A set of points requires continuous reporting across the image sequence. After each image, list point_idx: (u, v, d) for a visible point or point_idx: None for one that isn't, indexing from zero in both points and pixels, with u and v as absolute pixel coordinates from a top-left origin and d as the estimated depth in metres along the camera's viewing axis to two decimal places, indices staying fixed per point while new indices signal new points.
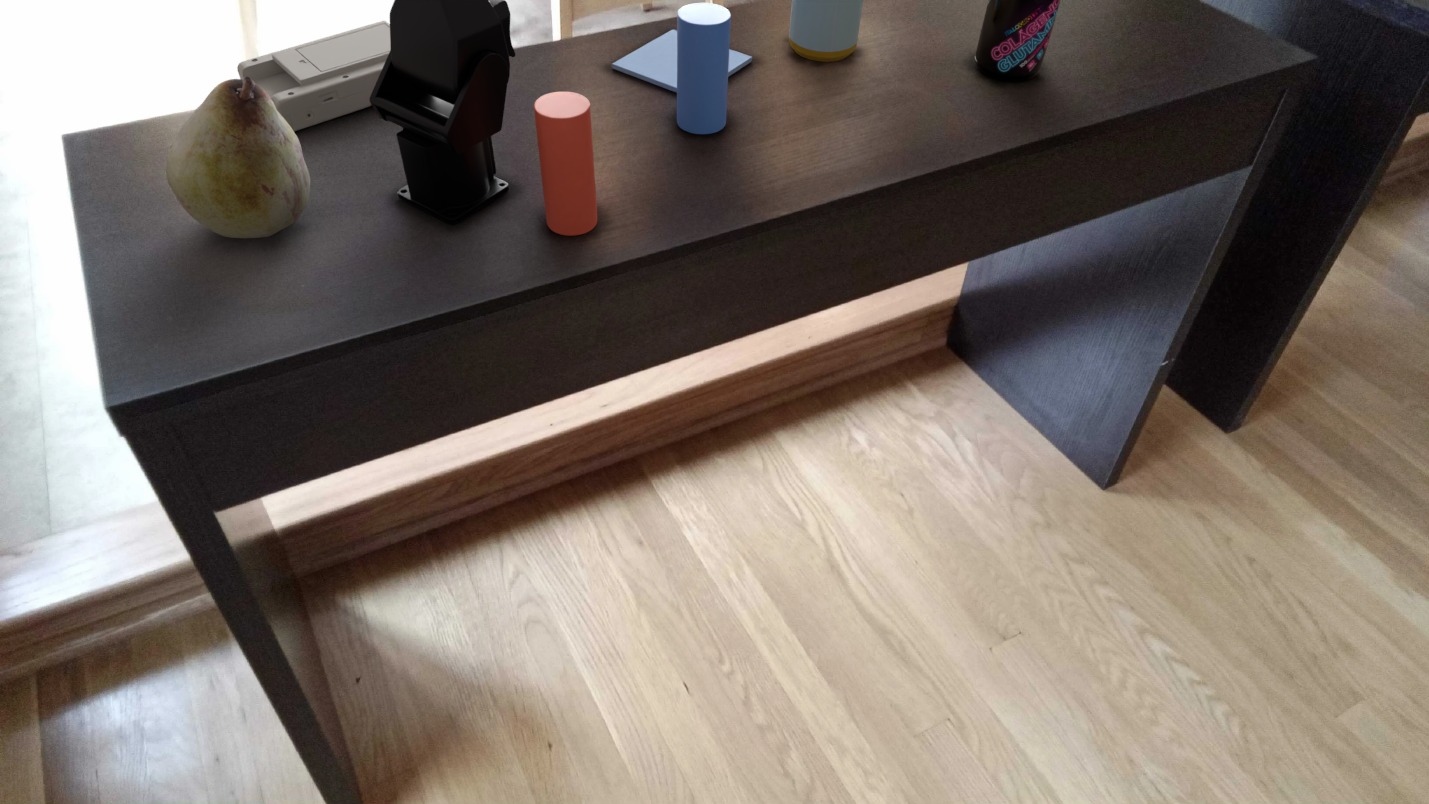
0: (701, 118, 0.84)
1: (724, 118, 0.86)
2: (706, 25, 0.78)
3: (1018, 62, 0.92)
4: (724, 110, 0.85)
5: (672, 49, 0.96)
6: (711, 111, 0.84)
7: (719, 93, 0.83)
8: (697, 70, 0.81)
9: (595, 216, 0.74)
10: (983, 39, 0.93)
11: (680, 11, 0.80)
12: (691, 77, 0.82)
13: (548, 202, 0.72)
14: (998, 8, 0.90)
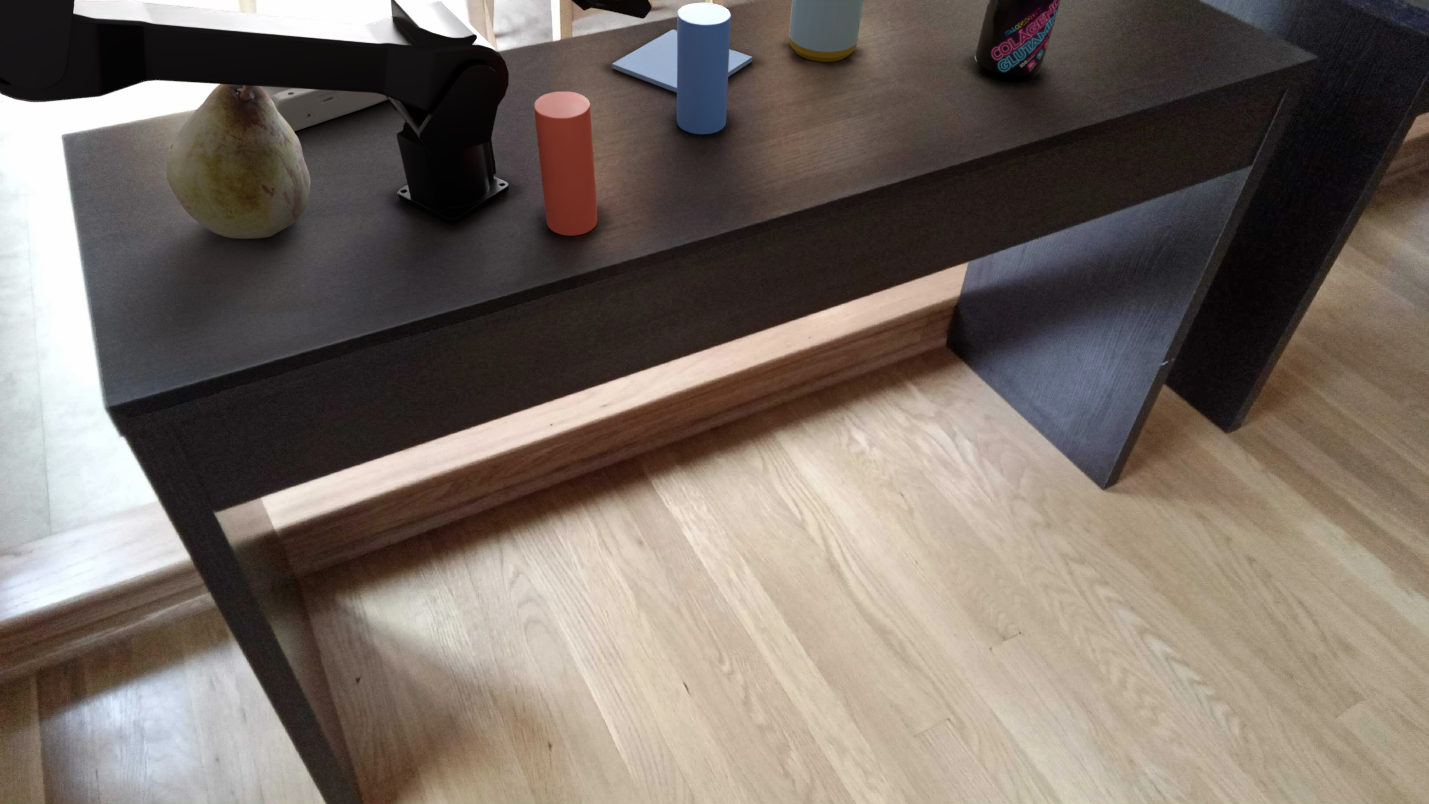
0: (701, 118, 0.84)
1: (724, 118, 0.86)
2: (706, 25, 0.78)
3: (1018, 62, 0.92)
4: (724, 110, 0.85)
5: (672, 49, 0.96)
6: (711, 111, 0.84)
7: (719, 93, 0.83)
8: (697, 70, 0.81)
9: (595, 216, 0.74)
10: (983, 39, 0.93)
11: (680, 11, 0.80)
12: (691, 77, 0.82)
13: (548, 202, 0.72)
14: (998, 8, 0.90)
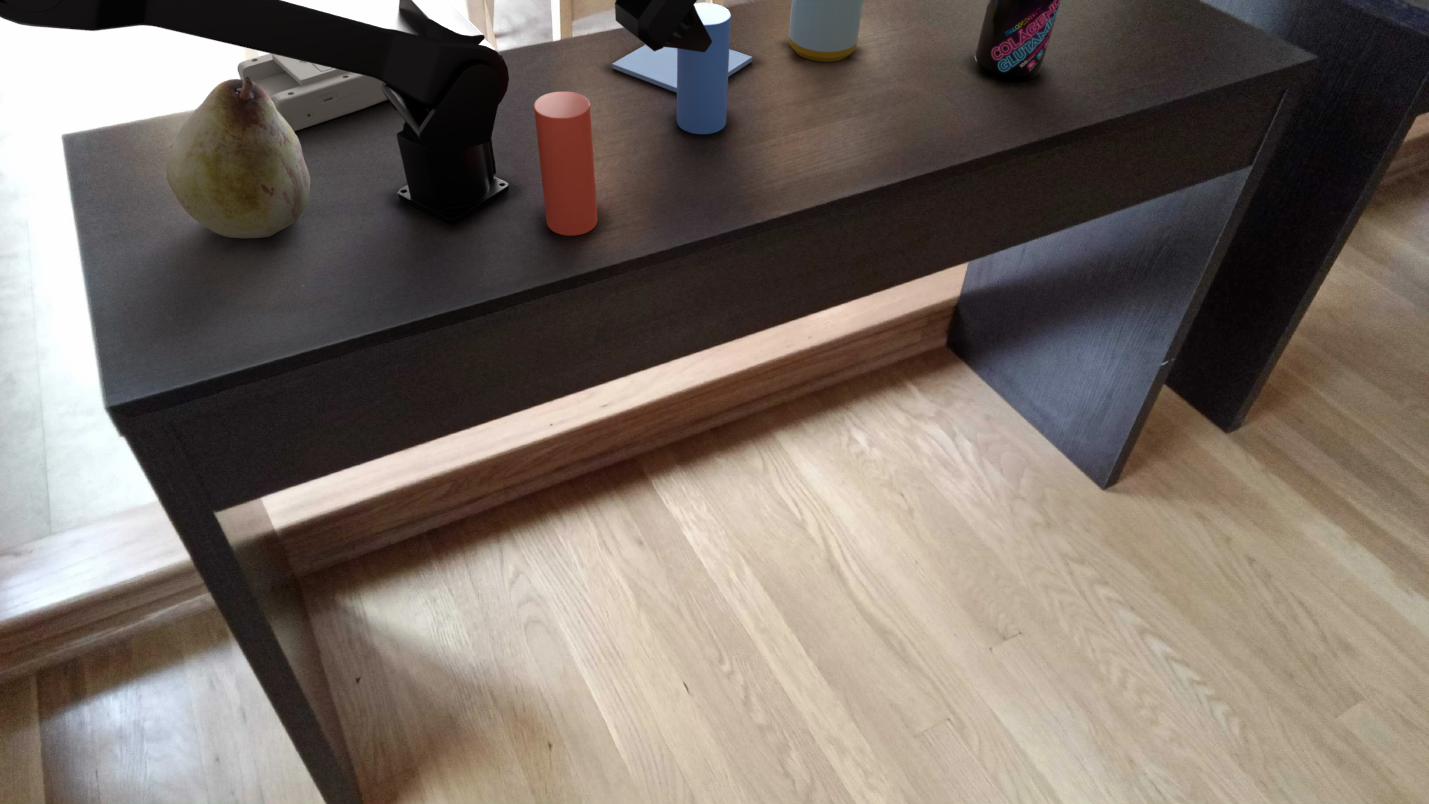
0: (701, 118, 0.84)
1: (724, 118, 0.86)
2: (706, 25, 0.78)
3: (1018, 62, 0.92)
4: (724, 110, 0.85)
5: (672, 49, 0.96)
6: (711, 111, 0.84)
7: (719, 93, 0.83)
8: (697, 70, 0.81)
9: (595, 216, 0.74)
10: (983, 39, 0.93)
11: None
12: (691, 77, 0.82)
13: (548, 202, 0.72)
14: (998, 8, 0.90)
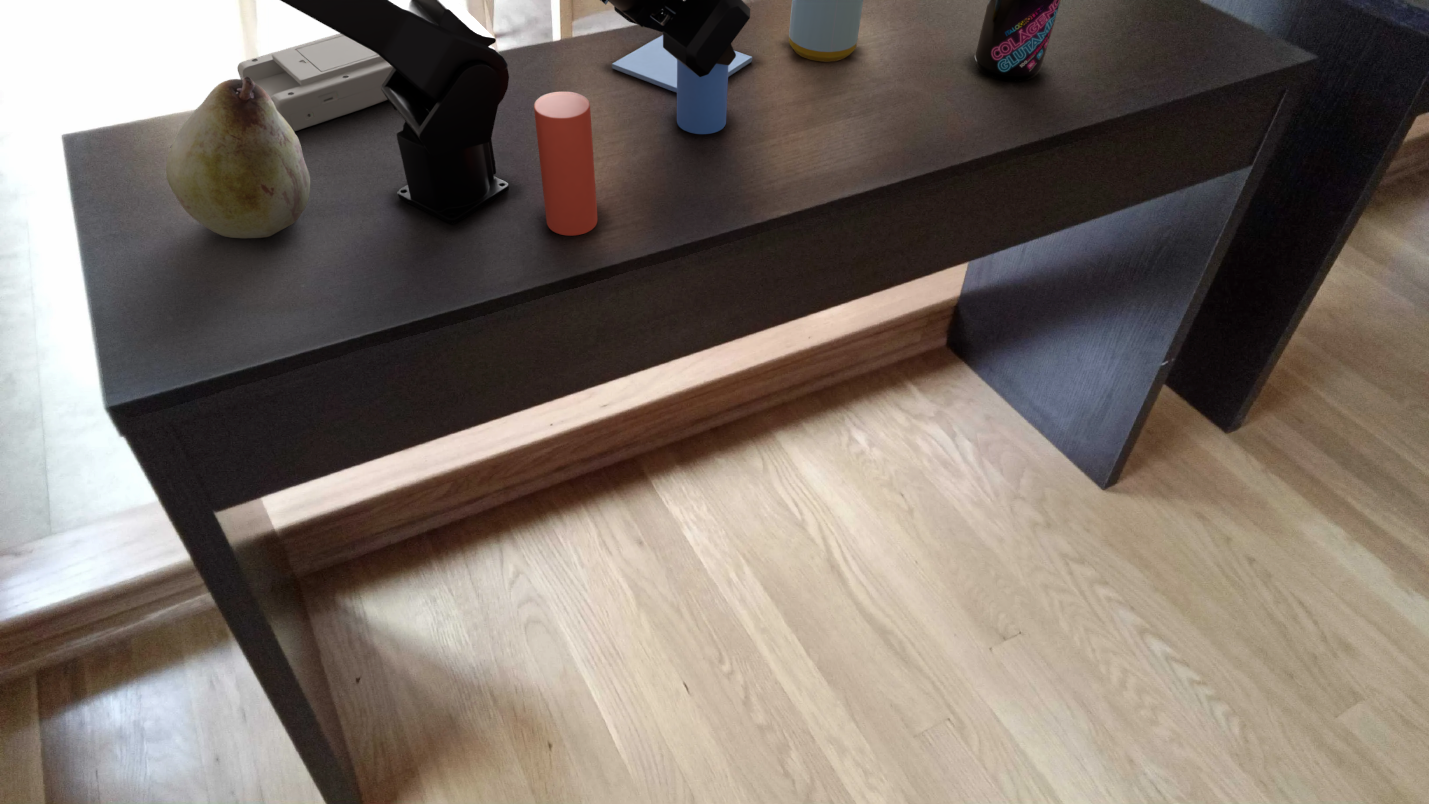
0: (701, 118, 0.84)
1: (724, 118, 0.86)
2: None
3: (1018, 62, 0.92)
4: (724, 110, 0.85)
5: None
6: (711, 111, 0.84)
7: (719, 93, 0.83)
8: None
9: (595, 216, 0.74)
10: (983, 39, 0.93)
11: None
12: (691, 77, 0.82)
13: (548, 202, 0.72)
14: (998, 8, 0.90)
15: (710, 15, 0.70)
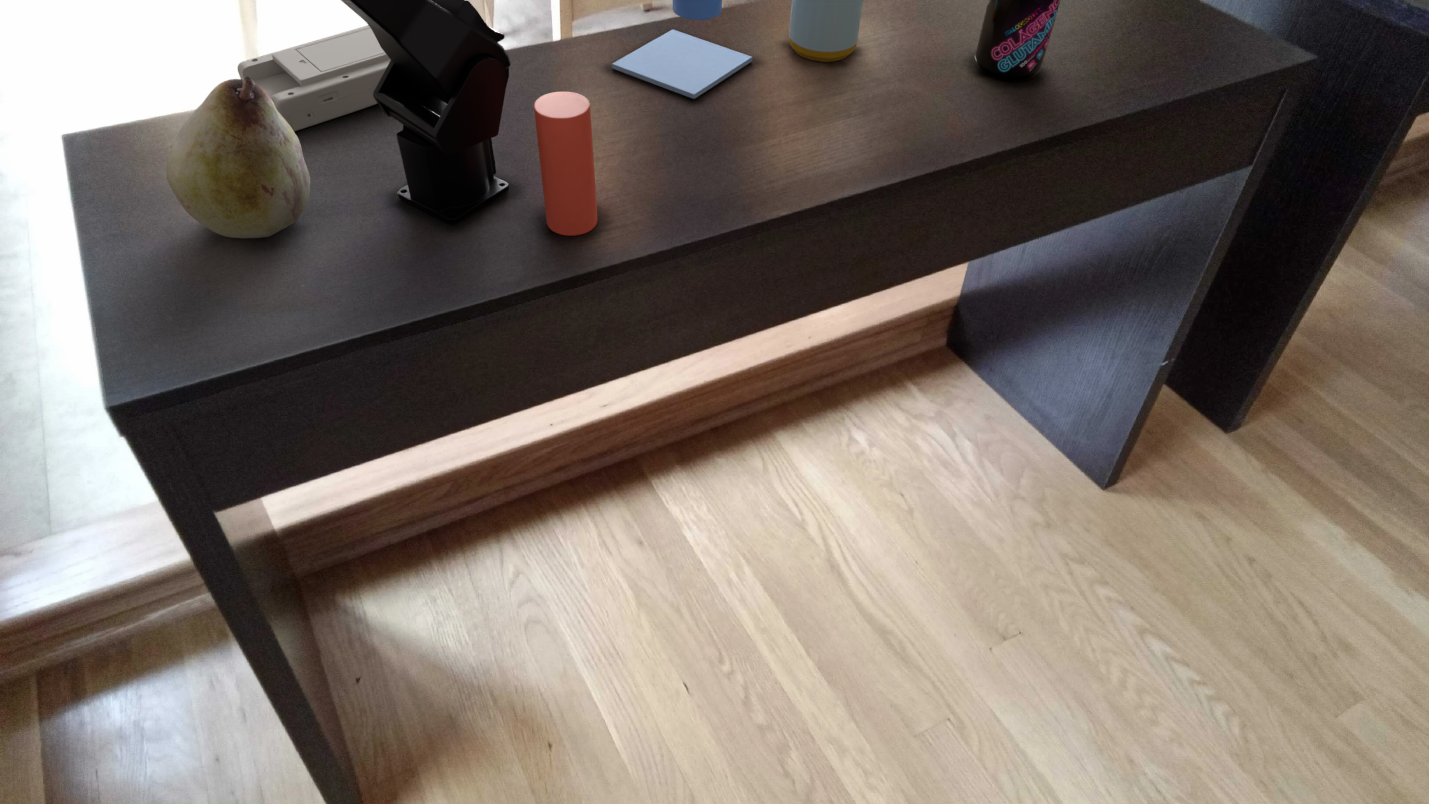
0: (703, 2, 0.84)
1: (721, 2, 0.86)
2: None
3: (1018, 62, 0.92)
4: None
5: (672, 49, 0.96)
6: None
7: None
8: None
9: (595, 216, 0.74)
10: (983, 39, 0.93)
11: None
12: None
13: (548, 202, 0.72)
14: (998, 8, 0.90)
15: None
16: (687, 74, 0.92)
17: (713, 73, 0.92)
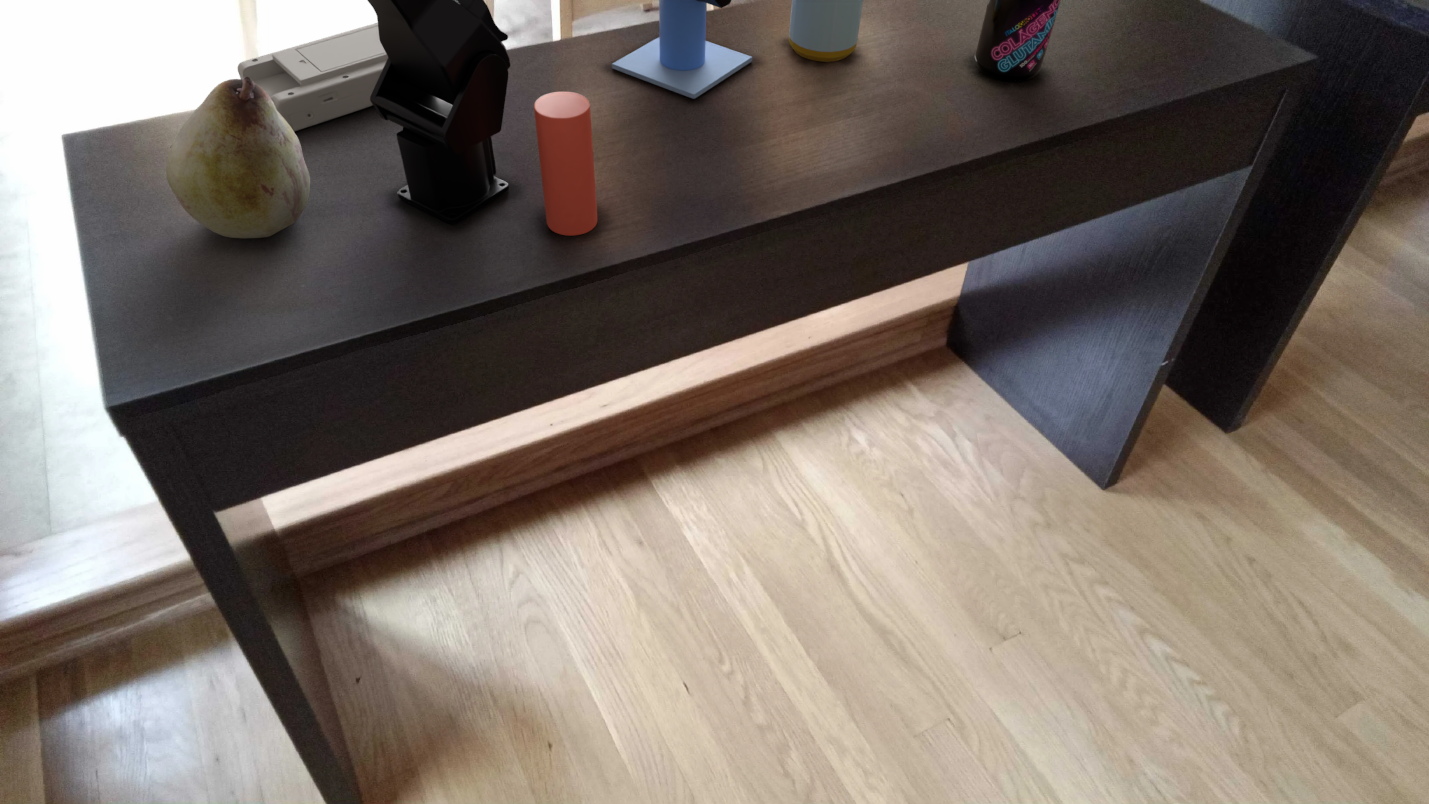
0: (690, 55, 0.92)
1: None
2: None
3: (1018, 62, 0.92)
4: None
5: None
6: (698, 47, 0.92)
7: (703, 28, 0.91)
8: (685, 9, 0.88)
9: (595, 216, 0.74)
10: (983, 39, 0.93)
11: None
12: (680, 16, 0.89)
13: (548, 202, 0.72)
14: (998, 8, 0.90)
15: None
16: (687, 74, 0.92)
17: (713, 73, 0.92)
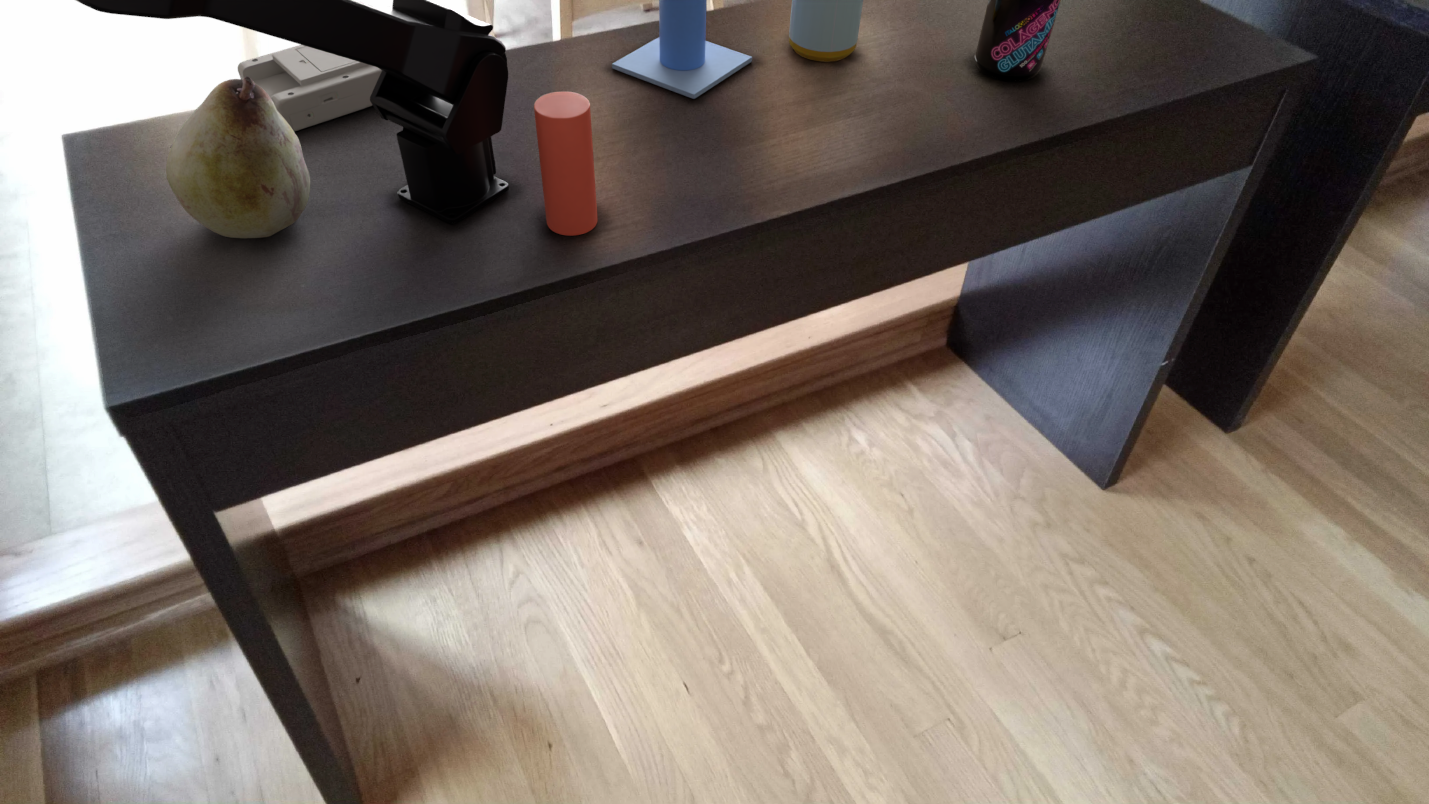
0: (690, 55, 0.92)
1: None
2: None
3: (1018, 62, 0.92)
4: None
5: None
6: (698, 47, 0.92)
7: (703, 28, 0.91)
8: (685, 9, 0.88)
9: (595, 216, 0.74)
10: (983, 39, 0.93)
11: None
12: (680, 16, 0.89)
13: (548, 202, 0.72)
14: (998, 8, 0.90)
15: None
16: (687, 74, 0.92)
17: (713, 73, 0.92)
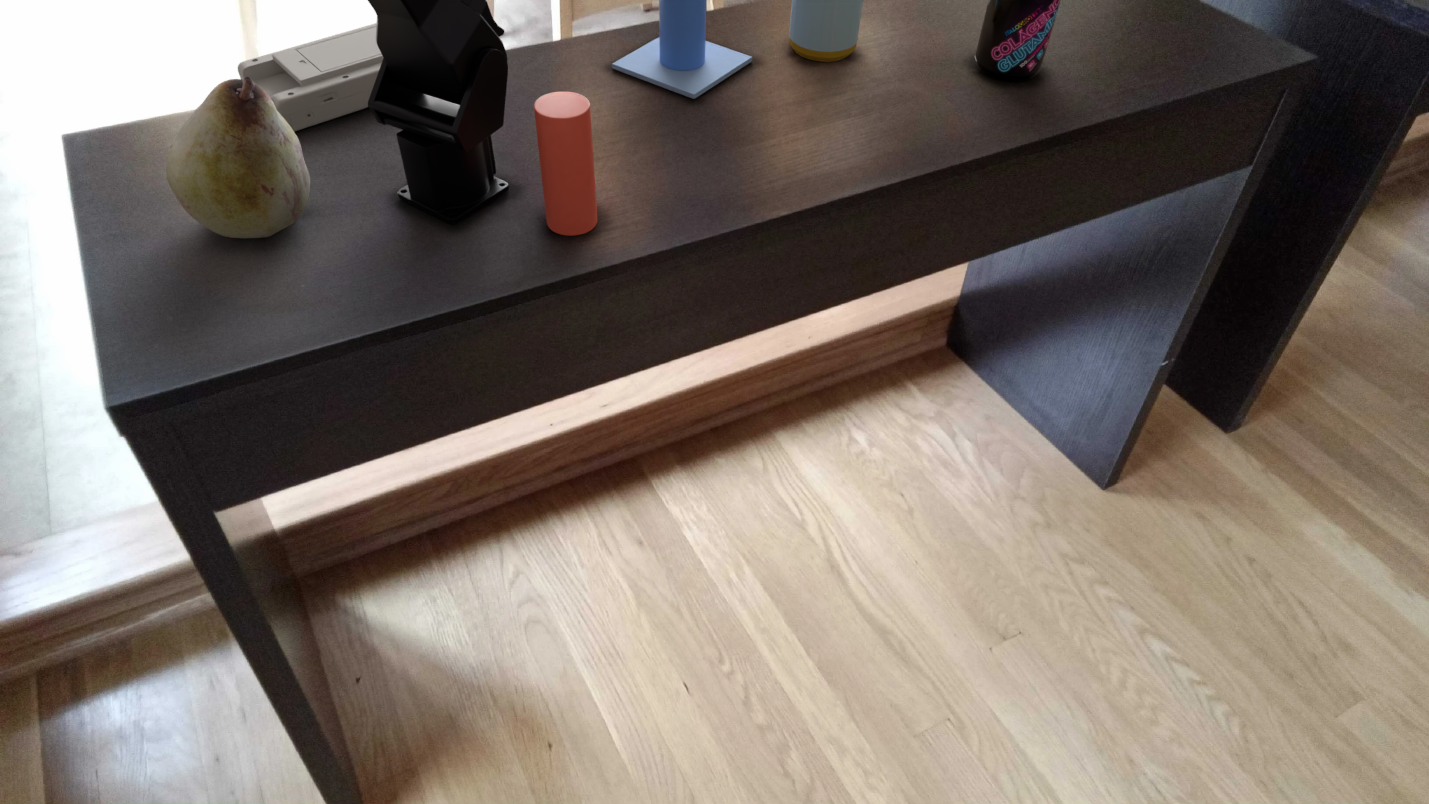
0: (690, 55, 0.92)
1: None
2: None
3: (1018, 62, 0.92)
4: None
5: None
6: (698, 47, 0.92)
7: (703, 28, 0.91)
8: (685, 9, 0.88)
9: (595, 216, 0.74)
10: (983, 39, 0.93)
11: None
12: (680, 16, 0.89)
13: (548, 202, 0.72)
14: (998, 8, 0.90)
15: None
16: (687, 74, 0.92)
17: (713, 73, 0.92)
